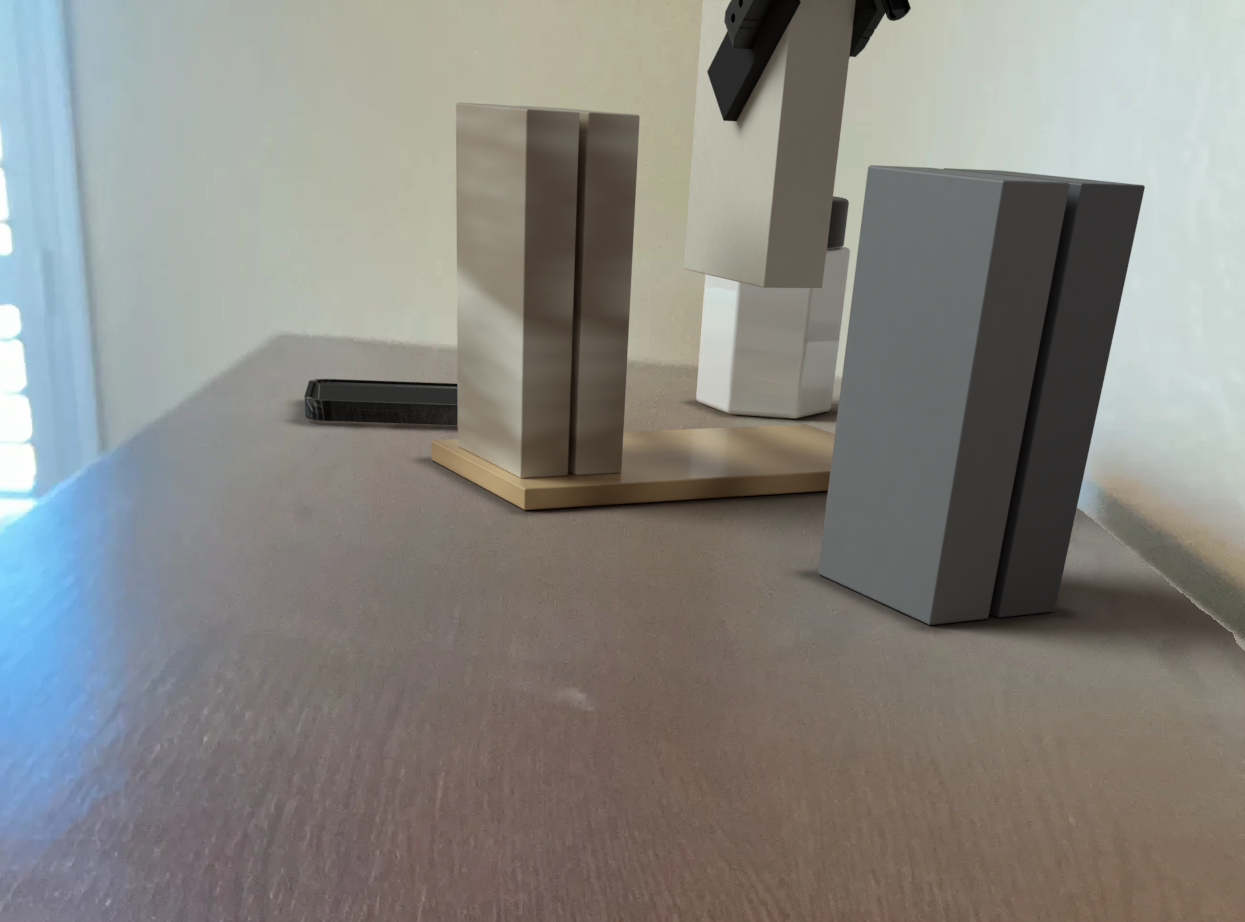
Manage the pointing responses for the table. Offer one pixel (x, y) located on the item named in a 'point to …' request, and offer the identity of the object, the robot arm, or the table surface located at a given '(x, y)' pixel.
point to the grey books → (972, 385)
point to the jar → (774, 339)
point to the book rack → (574, 329)
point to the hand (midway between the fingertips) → (759, 98)
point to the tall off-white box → (770, 154)
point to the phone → (382, 402)
